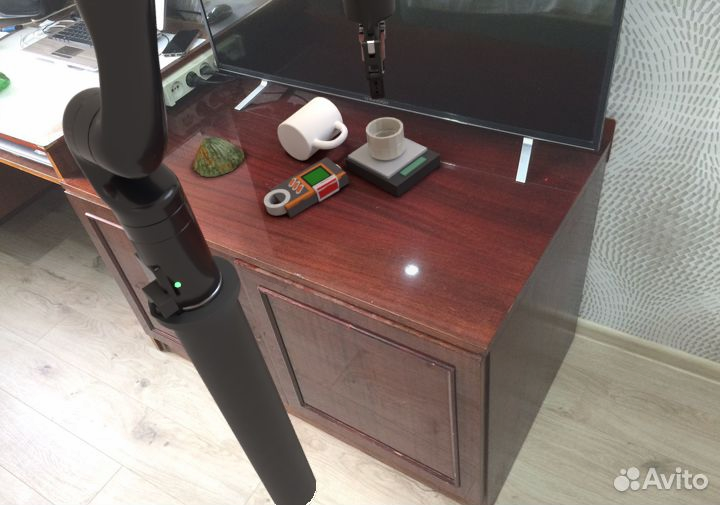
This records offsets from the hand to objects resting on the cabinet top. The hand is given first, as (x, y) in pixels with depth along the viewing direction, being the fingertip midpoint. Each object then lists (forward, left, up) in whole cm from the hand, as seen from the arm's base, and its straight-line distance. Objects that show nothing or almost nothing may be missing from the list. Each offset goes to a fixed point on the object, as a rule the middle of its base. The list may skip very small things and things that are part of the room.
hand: (378, 83), depth 96 cm
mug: (-4, +14, -17) cm, 22 cm away
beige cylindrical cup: (0, 0, -14) cm, 14 cm away
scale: (0, -1, -17) cm, 17 cm away
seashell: (-19, +28, -17) cm, 38 cm away
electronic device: (-15, +6, -17) cm, 23 cm away
